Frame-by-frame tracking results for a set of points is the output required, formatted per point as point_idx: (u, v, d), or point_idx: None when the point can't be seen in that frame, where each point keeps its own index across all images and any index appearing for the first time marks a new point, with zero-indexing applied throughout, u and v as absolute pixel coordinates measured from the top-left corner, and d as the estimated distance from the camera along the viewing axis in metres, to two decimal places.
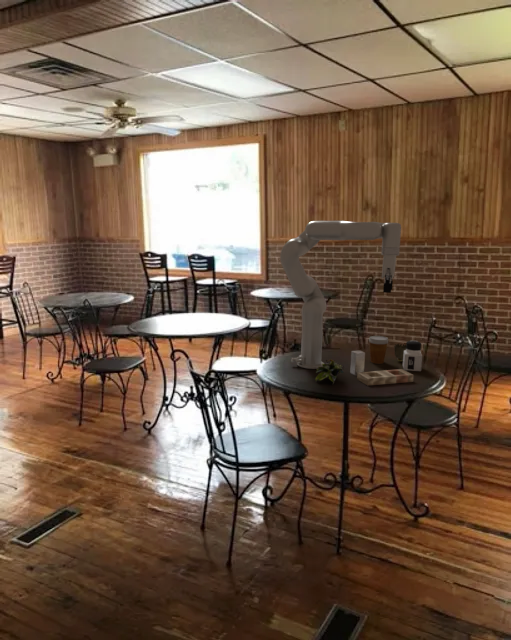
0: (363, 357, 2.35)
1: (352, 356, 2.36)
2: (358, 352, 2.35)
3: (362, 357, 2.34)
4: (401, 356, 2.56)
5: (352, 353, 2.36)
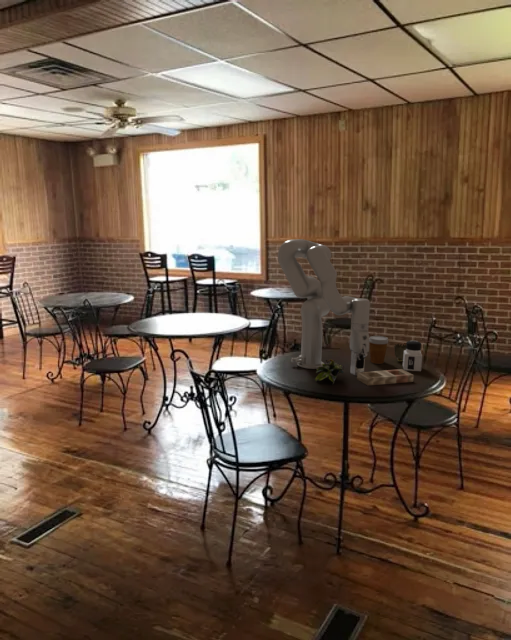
0: None
1: (352, 356, 2.36)
2: None
3: None
4: (401, 356, 2.56)
5: (352, 353, 2.36)
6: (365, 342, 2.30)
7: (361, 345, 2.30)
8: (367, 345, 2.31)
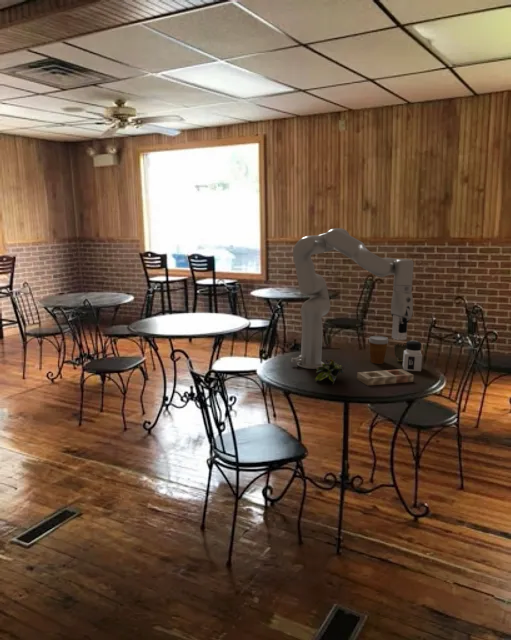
0: None
1: (394, 320, 2.25)
2: None
3: None
4: (401, 356, 2.56)
5: (394, 317, 2.25)
6: (409, 304, 2.19)
7: (405, 307, 2.19)
8: (411, 308, 2.20)
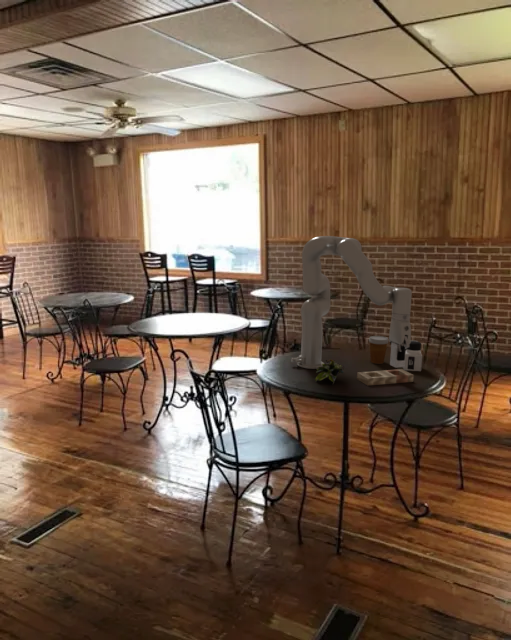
0: None
1: (392, 348, 2.28)
2: None
3: None
4: None
5: (392, 344, 2.28)
6: (407, 333, 2.22)
7: (403, 336, 2.21)
8: (409, 336, 2.22)
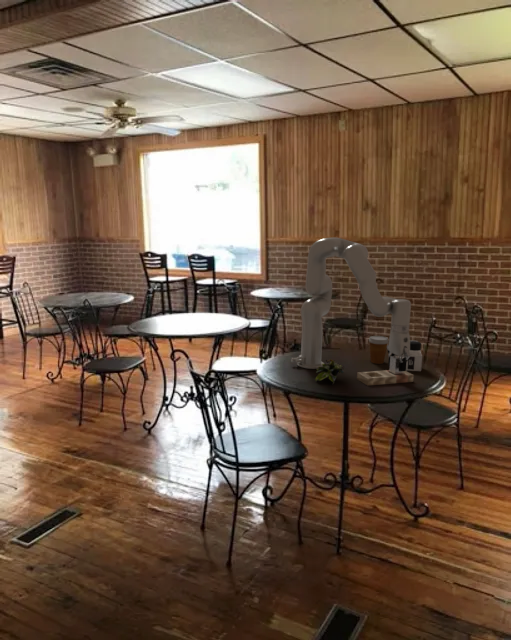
0: None
1: (391, 361, 2.29)
2: (398, 357, 2.28)
3: None
4: None
5: (391, 358, 2.29)
6: (406, 344, 2.22)
7: (402, 347, 2.22)
8: (408, 347, 2.23)
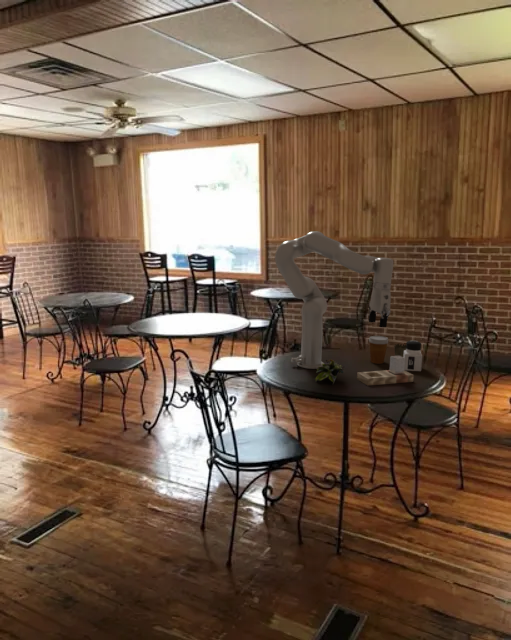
0: (403, 362, 2.27)
1: (391, 361, 2.29)
2: (398, 357, 2.28)
3: (402, 362, 2.27)
4: (401, 356, 2.56)
5: (391, 358, 2.29)
6: (386, 301, 2.29)
7: (382, 304, 2.28)
8: (388, 305, 2.29)
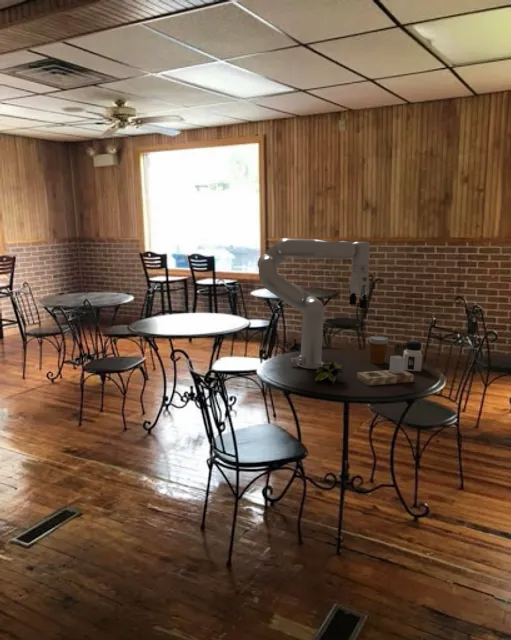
0: (403, 362, 2.27)
1: (391, 361, 2.29)
2: (398, 357, 2.28)
3: (402, 362, 2.27)
4: (401, 356, 2.56)
5: (391, 358, 2.29)
6: (365, 283, 2.38)
7: (361, 286, 2.38)
8: (367, 286, 2.39)
